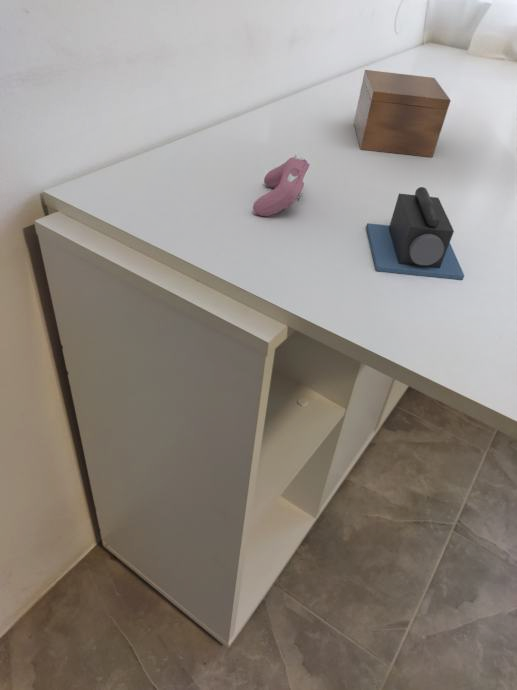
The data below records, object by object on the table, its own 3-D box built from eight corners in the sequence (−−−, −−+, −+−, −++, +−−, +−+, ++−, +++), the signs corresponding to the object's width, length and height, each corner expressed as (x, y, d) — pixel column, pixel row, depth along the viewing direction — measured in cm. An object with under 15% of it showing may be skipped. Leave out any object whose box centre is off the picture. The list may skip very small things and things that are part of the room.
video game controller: (278, 232, 68) (311, 190, 63) (248, 212, 67) (279, 168, 62) (289, 198, 75) (318, 158, 71) (262, 179, 74) (290, 138, 70)
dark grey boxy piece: (425, 229, 67) (440, 184, 63) (441, 272, 60) (460, 223, 56) (387, 225, 67) (400, 179, 63) (399, 267, 60) (415, 219, 56)
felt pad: (443, 235, 68) (445, 231, 68) (462, 280, 61) (464, 275, 60) (365, 227, 68) (367, 222, 67) (375, 271, 60) (377, 266, 60)
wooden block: (419, 131, 97) (434, 77, 91) (432, 157, 88) (450, 100, 82) (353, 123, 96) (364, 69, 90) (360, 149, 87) (373, 91, 81)
